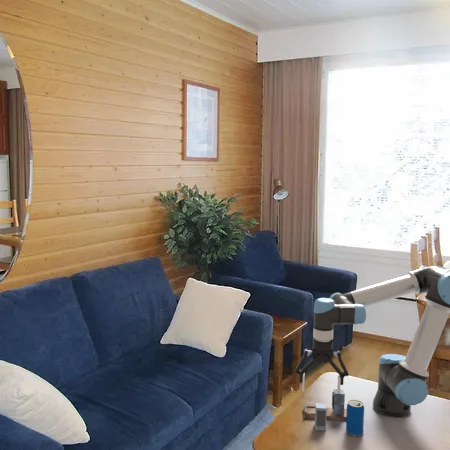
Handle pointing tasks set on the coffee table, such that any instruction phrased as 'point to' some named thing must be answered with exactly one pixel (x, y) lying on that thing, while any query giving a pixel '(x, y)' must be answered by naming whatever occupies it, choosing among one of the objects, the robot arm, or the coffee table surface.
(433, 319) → the robot arm
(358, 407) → the beverage can
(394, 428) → the coffee table surface
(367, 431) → the coffee table surface
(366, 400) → the coffee table surface
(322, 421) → the block
